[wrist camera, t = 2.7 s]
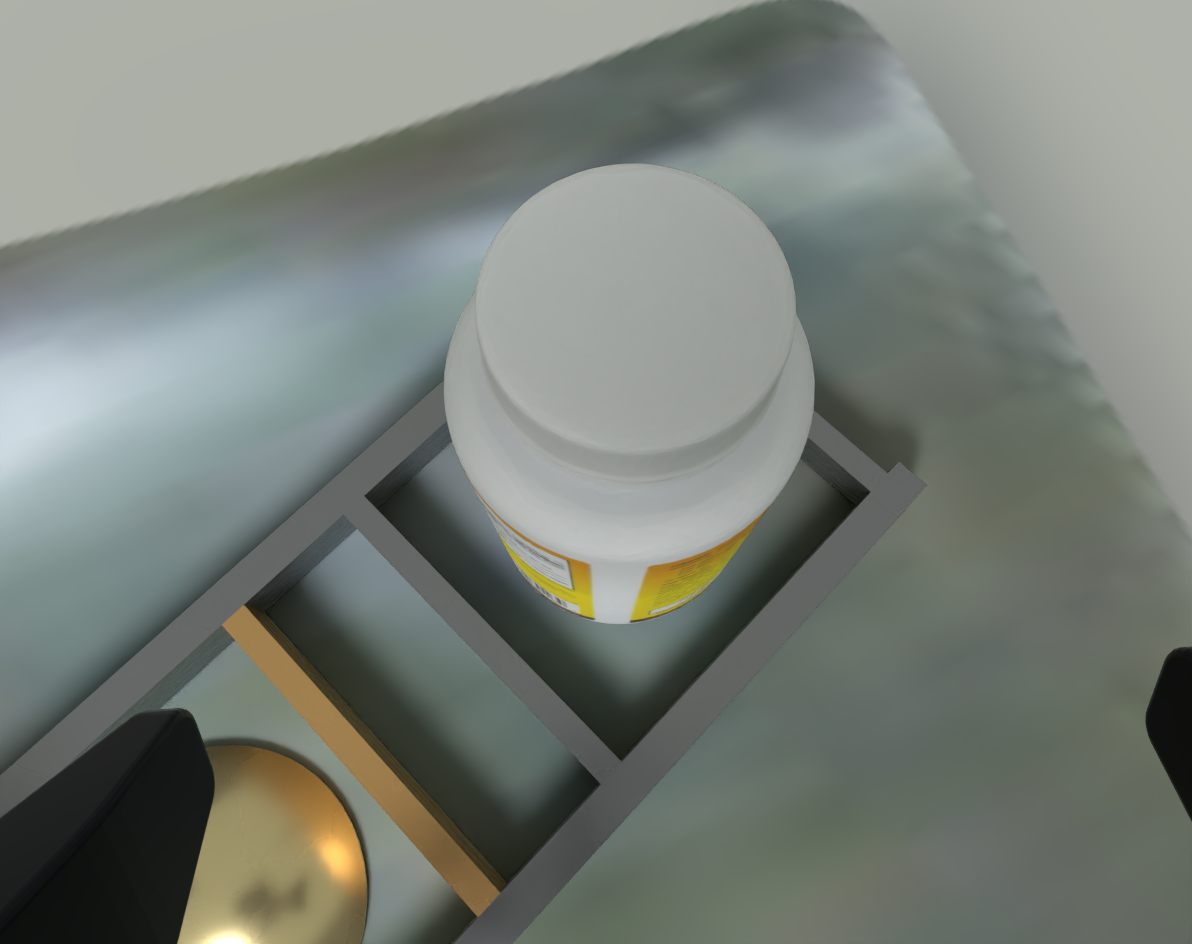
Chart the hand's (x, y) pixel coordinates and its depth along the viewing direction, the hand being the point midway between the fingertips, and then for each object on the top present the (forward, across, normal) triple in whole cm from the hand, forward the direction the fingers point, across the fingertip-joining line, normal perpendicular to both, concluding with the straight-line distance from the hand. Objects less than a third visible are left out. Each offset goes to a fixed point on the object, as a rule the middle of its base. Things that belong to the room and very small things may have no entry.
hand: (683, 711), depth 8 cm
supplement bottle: (+11, 0, +5) cm, 12 cm away
